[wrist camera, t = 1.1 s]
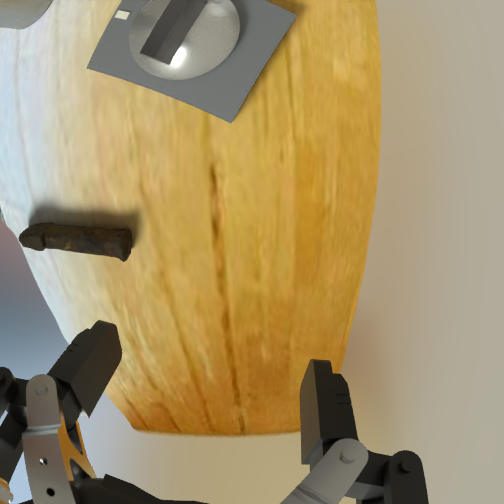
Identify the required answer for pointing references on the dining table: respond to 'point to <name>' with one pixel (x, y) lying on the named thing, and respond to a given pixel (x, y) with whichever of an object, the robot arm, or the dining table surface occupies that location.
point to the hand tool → (78, 240)
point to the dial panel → (214, 82)
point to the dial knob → (183, 37)
